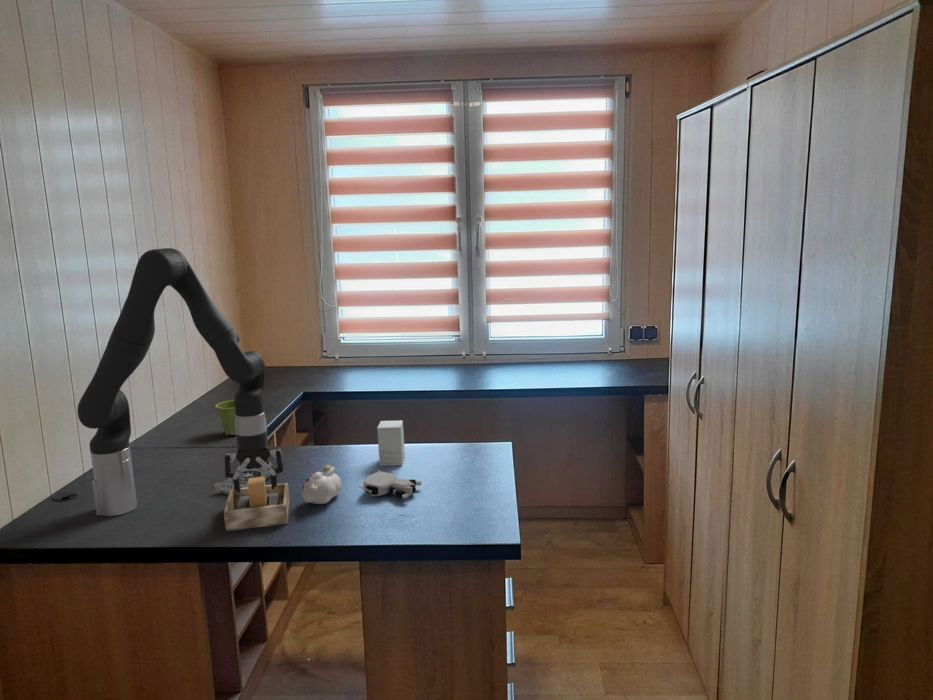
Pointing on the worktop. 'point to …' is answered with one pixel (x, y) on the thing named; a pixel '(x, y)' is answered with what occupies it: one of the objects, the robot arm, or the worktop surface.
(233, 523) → the walled box
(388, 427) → the supplement box
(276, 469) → the robot arm
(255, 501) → the orange rectangular block
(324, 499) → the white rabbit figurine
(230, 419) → the plant pot
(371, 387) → the worktop surface
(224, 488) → the graphics card
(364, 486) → the robot toy
